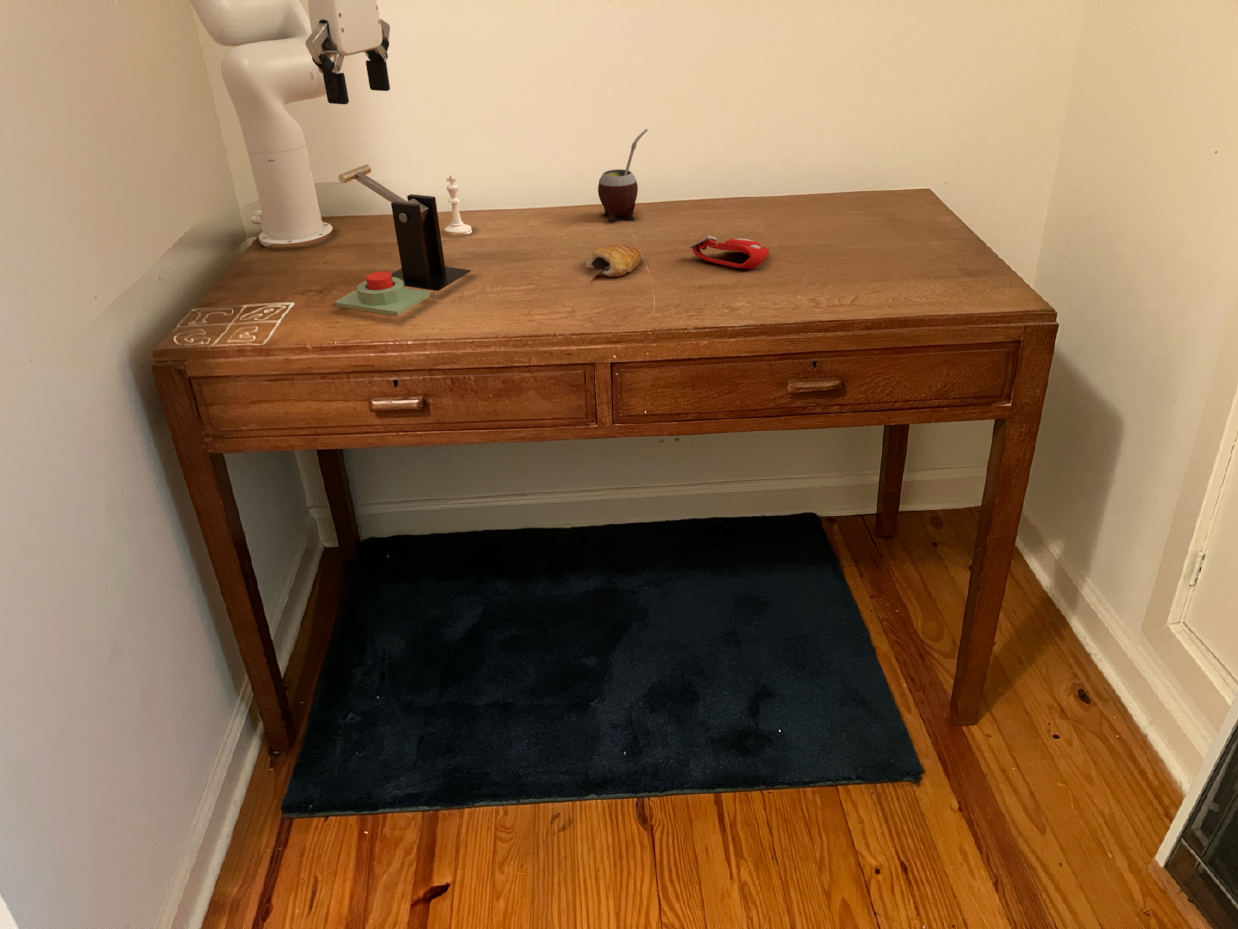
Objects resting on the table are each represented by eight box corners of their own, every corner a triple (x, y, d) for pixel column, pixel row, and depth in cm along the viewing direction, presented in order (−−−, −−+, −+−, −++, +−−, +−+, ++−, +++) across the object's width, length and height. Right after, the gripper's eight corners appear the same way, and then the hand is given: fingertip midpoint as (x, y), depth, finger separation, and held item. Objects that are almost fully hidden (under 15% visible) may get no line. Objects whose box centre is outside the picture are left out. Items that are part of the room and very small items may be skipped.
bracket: (378, 288, 139) (363, 204, 132) (413, 269, 146) (400, 188, 139) (439, 297, 135) (426, 211, 128) (471, 277, 142) (461, 194, 135)
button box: (336, 312, 131) (331, 289, 130) (370, 293, 138) (366, 271, 136) (399, 323, 127) (394, 299, 126) (431, 302, 134) (428, 279, 132)
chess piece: (466, 237, 159) (459, 178, 154) (440, 236, 160) (431, 178, 154) (476, 228, 163) (469, 171, 158) (450, 227, 164) (442, 170, 159)
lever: (337, 183, 134) (339, 169, 133) (362, 173, 139) (365, 159, 137) (408, 229, 133) (412, 215, 131) (432, 217, 138) (436, 204, 136)
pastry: (617, 255, 148) (616, 232, 146) (651, 262, 145) (651, 239, 143) (582, 273, 142) (581, 249, 140) (618, 281, 138) (617, 257, 136)
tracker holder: (754, 240, 149) (784, 243, 140) (750, 267, 150) (780, 272, 141) (686, 232, 145) (713, 234, 135) (683, 260, 146) (709, 265, 137)
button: (362, 290, 130) (360, 278, 129) (378, 281, 133) (376, 270, 132) (383, 293, 129) (381, 281, 128) (398, 284, 132) (396, 272, 131)
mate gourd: (592, 220, 164) (587, 134, 157) (615, 208, 170) (612, 124, 162) (627, 226, 161) (624, 138, 153) (649, 213, 167) (648, 128, 159)
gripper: (354, -45, 129) (374, 84, 138) (270, -35, 116) (299, 107, 125) (398, -45, 127) (416, 86, 136) (318, -35, 113) (344, 110, 122)
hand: (360, 96), depth 130 cm, fingers open, 9 cm apart
